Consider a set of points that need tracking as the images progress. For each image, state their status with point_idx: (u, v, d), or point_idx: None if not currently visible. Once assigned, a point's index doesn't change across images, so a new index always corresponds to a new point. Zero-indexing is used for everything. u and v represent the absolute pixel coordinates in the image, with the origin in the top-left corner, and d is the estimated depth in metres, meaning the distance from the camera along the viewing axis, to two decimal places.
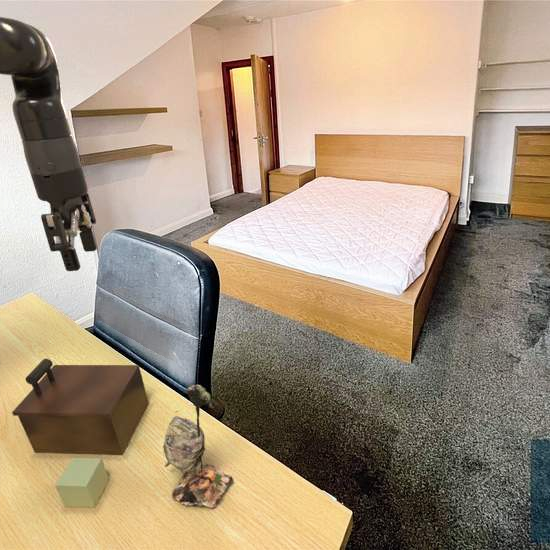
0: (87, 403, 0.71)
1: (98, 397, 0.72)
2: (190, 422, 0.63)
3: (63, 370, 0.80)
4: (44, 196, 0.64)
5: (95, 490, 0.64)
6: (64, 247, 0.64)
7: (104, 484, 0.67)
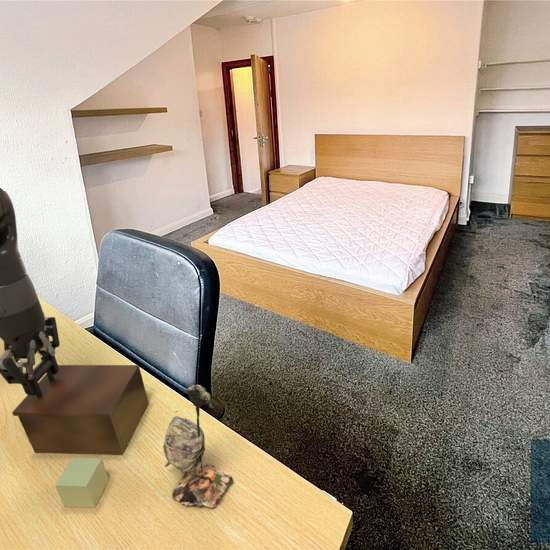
0: (87, 403, 0.71)
1: (98, 397, 0.72)
2: (190, 422, 0.63)
3: (63, 370, 0.80)
4: None
5: (95, 490, 0.64)
6: (20, 383, 0.68)
7: (104, 484, 0.67)
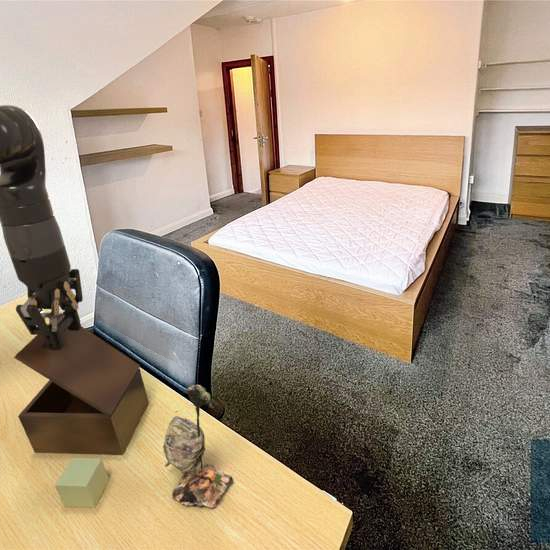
0: (91, 388, 0.69)
1: (101, 385, 0.71)
2: (190, 422, 0.63)
3: None
4: (21, 278, 0.61)
5: (95, 490, 0.64)
6: (44, 333, 0.63)
7: (104, 484, 0.67)
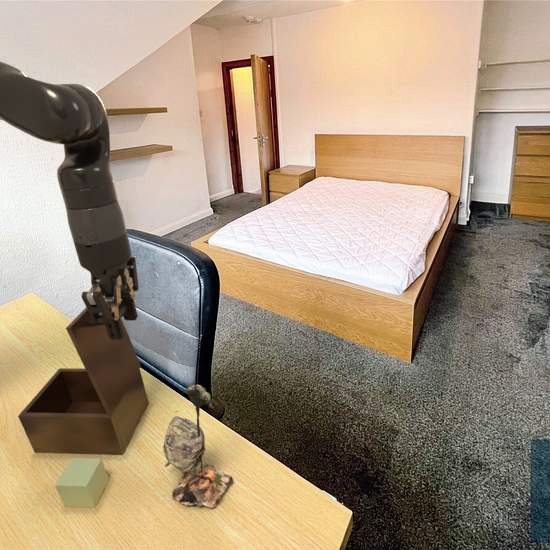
0: (107, 382, 0.68)
1: (114, 381, 0.70)
2: (190, 422, 0.63)
3: (110, 306, 0.72)
4: (85, 265, 0.59)
5: (95, 490, 0.64)
6: (108, 321, 0.61)
7: (104, 484, 0.67)
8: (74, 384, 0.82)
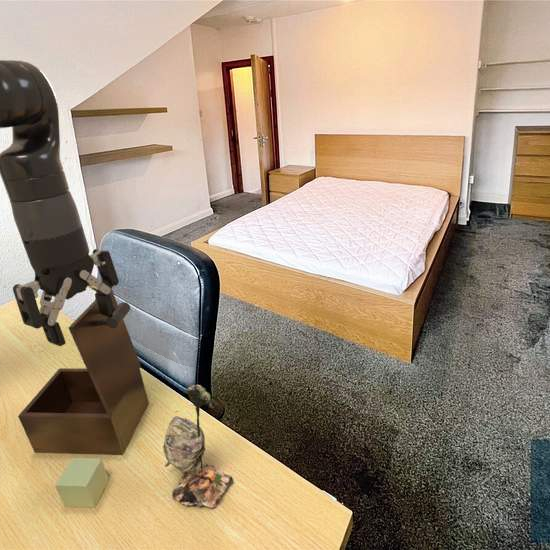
0: (108, 382, 0.68)
1: (114, 381, 0.70)
2: (190, 422, 0.63)
3: None
4: None
5: (95, 490, 0.64)
6: (33, 325, 0.54)
7: (104, 484, 0.67)
8: (74, 384, 0.82)
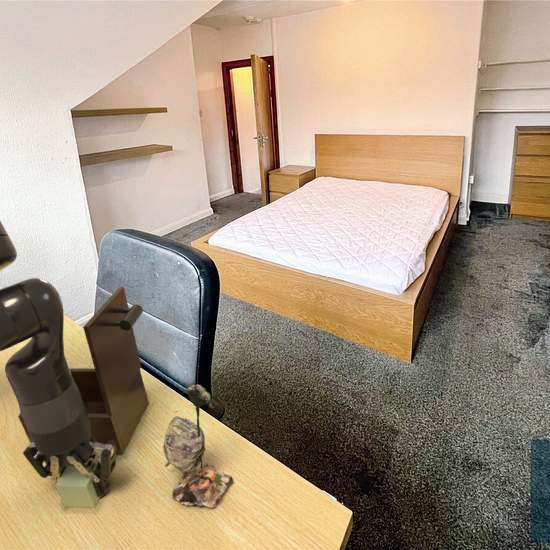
0: (112, 382, 0.68)
1: (117, 381, 0.70)
2: (190, 422, 0.63)
3: (123, 306, 0.72)
4: None
5: None
6: (40, 475, 0.63)
7: None
8: None
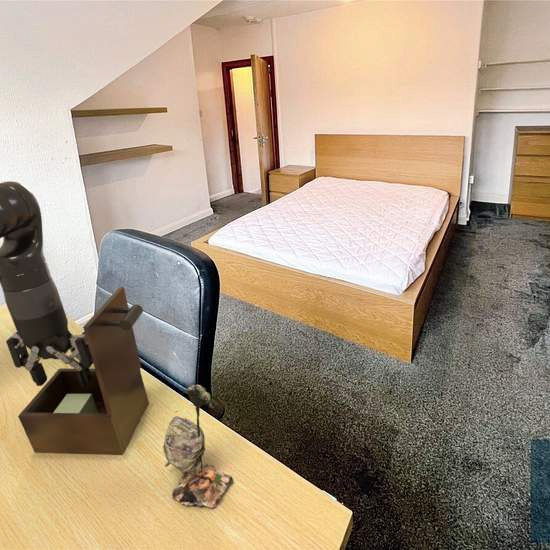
0: (112, 382, 0.68)
1: (117, 381, 0.70)
2: (190, 422, 0.63)
3: (123, 306, 0.72)
4: None
5: None
6: (14, 364, 0.72)
7: None
8: (74, 384, 0.82)
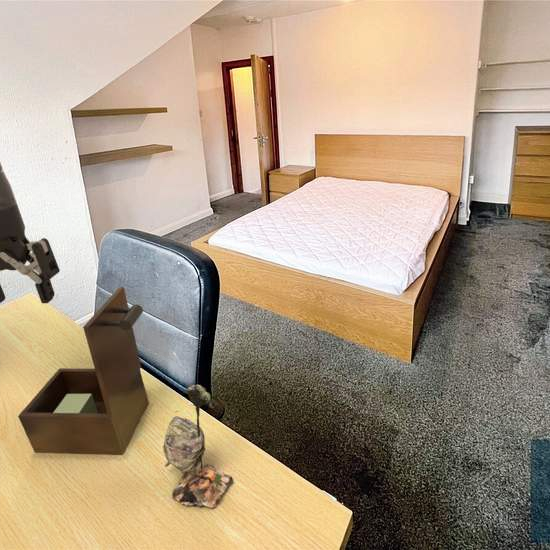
0: (112, 382, 0.68)
1: (117, 381, 0.70)
2: (190, 422, 0.63)
3: (123, 306, 0.72)
4: None
5: None
6: None
7: None
8: (74, 384, 0.82)
